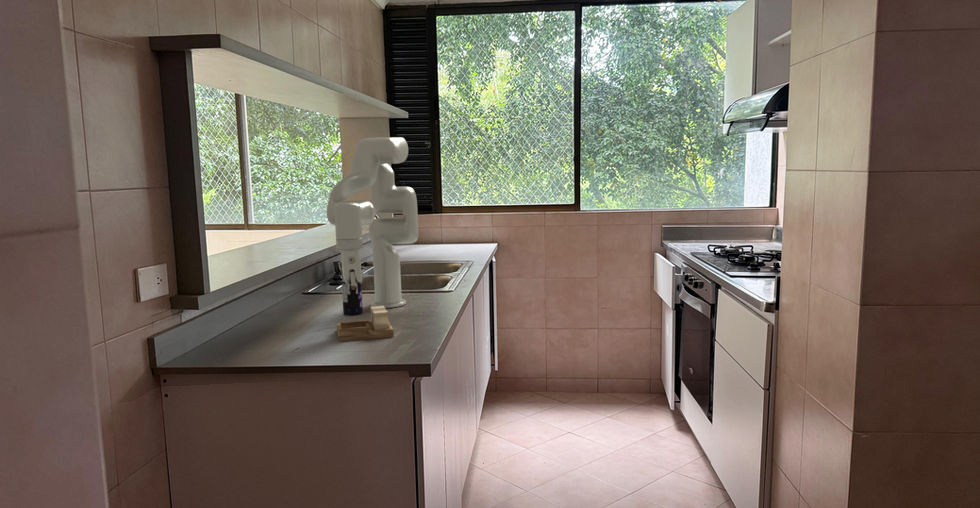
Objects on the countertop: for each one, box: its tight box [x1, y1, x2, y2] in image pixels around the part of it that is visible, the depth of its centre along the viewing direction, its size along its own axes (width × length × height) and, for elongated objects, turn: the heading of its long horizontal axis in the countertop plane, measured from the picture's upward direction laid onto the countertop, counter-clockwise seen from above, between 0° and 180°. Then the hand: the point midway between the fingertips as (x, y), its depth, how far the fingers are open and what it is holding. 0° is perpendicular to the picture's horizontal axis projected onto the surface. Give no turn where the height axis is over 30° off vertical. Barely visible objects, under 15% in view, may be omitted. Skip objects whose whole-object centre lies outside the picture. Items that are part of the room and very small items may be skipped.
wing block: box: [370, 306, 389, 330], centre depth 195 cm, size 10×4×6 cm, turn 16°
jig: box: [336, 319, 395, 343], centre depth 194 cm, size 14×16×3 cm
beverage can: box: [341, 277, 364, 319], centre depth 192 cm, size 6×6×12 cm
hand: (352, 304), depth 192 cm, fingers closed on beverage can, 5 cm apart
